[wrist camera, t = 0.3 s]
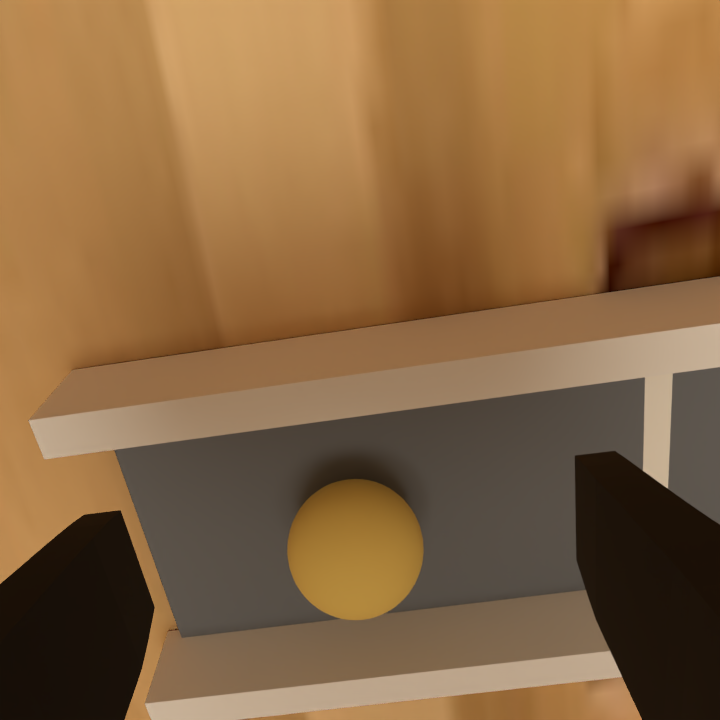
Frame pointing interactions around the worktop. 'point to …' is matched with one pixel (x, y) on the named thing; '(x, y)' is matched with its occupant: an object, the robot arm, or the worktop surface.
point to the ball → (355, 549)
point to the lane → (398, 489)
